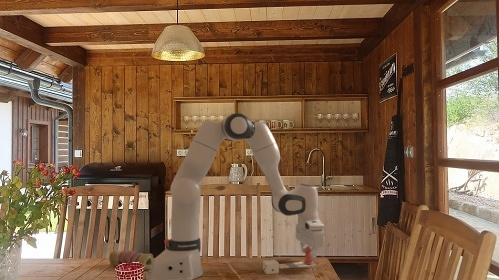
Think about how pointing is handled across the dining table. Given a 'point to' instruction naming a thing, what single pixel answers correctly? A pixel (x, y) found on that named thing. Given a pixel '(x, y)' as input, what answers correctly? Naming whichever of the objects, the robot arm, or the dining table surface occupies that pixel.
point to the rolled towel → (131, 258)
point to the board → (293, 265)
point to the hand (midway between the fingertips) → (308, 255)
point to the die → (270, 266)
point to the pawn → (308, 256)
